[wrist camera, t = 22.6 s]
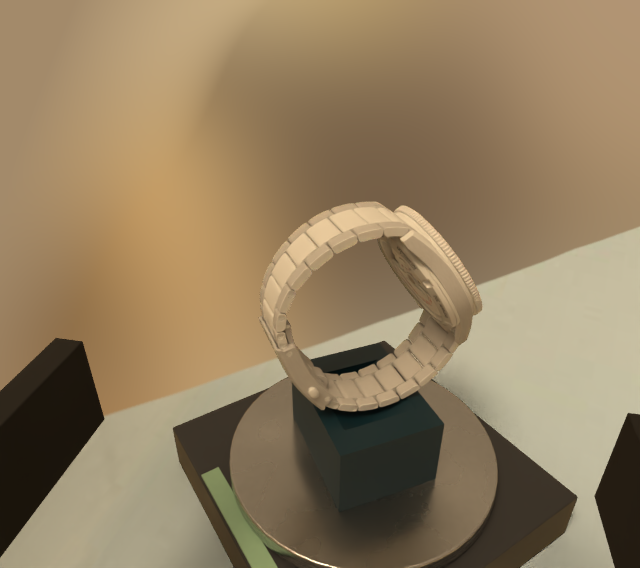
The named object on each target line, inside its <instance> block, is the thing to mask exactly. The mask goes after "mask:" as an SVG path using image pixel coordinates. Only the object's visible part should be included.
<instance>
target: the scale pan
mask: <svg viewBox="0 0 640 568" xmlns="http://www.w3.org/2000/svg"><path fill="white" fill-rule="evenodd" d="M415 382H416V383H417V381H415ZM417 384H418V383H417ZM418 385H419V384H418ZM419 387H420V389H419V390H418V392H419V393H420V394H421V395H422V397H423V398H424V399H425V400H426V402H427V403H428V404H429V405H430V407H431V408H432V409H433V410H434V412H435V413H436V414H437V415H438V417H439V418H440V419H441V420H442V422H443V423H444V430H443V436H442V442H441V449H440V455H439V461H438V467H437V473H436V479H434V480H431V481H428V482H426V483H423V484H420V485H417V486H414V487H411V488H408V489H405V490H402V491H400V492H397V493H394V494H391V495H388V496H385V497H382V498H379V499H376V500H374V501H371V502H368V503H365V504H362V505H359V506H356V507H353V508H350V509H348V510H345V511H342V512H339V511H338V509H337V507H336V505H335V503H334V501H333V499H332V497H331V495H330V493H329V491H328V488H327V486H326V484H325V482H324V480H323V478H322V476H321V474H320V472H319V470H318V468H317V465H316V463H315V461H314V459H313V457H312V455H311V453H310V451H309V449H308V447H307V444H306V442H305V440H304V438H303V436H302V434H301V432H300V430H299V428H298V426H297V424H296V421H295V419H294V417H293V401H292V381H291V380H290V378H289V377H287V378H285V379H283V380H281V381H280V382H278V383H276V384H275V385H273V386H271V387H270V388H269V389H268V390H266V391H265V392H264V393H262V394H261V395H260V396H259V397H258V398H257V399H256V400H255V401H254V402H253V403H252V404H251V406H250V407H249V408H248V409H247V411H246V412H245V413H244V415H243V417H242V418H241V420H240V422H239V424H238V426H237V428H236V431H235V433H234V436H233V439H232V444H231V448H230V460H229V467H230V475H231V483H232V490H233V493H234V496H235V500H236V503H237V505H238V507H239V509H240V511H241V514H242V516H243V518H244V519H245V521H246V522H247V524H248V525H249V526H250V528H251V529H252V531H253V532H254V533H255V534H256V535H257V536H258V537H259V538H260V540H261V541H262V542H263V543H264V544H265V545H266V546H267V547H269V548H270V549H271V550H272V551H274V552H275V553H276V554H277V555H279V556H280V557H281V558H283V559H285V560H286V561H288V562H290V563H291V564H293V565H295V566H296V567H298V568H442V567H444V566H445V565H447V564H449V563H450V562H452V561H454V560H455V559H456V558H457V557H459V556H460V555H461V554H462V553H463V552H465V551H466V550H467V549H468V548H469V547H470V546H471V545H472V543H473V542H474V541H475V540H476V539H477V538H478V536H479V535H480V533H481V532H482V530H483V528H484V527H485V525H486V523H487V522H488V519H489V516H490V514H491V511H492V508H493V505H494V501H495V496H496V491H497V485H498V467H497V461H496V455H495V452H494V449H493V446H492V443H491V440H490V438H489V436H488V434H487V432H486V430H485V428H484V427H483V425H482V424H481V422H480V421H479V420H478V418H477V417H476V416H475V414H474V413H473V412H472V411H471V410H470V409H469V408H468V407H467V405H465V404H464V403H463V402H462V401H461V400H460V399H459V398H458V397H456V396H455V395H454V394H452V393H451V392H450V391H448V390H447V389H445V388H444V387H442V386H440V385H439V384H437V383H435V382H434V381H432V380H430V381H429V382H428V383H426V384H425V385H424V386H422V387H421V386H420V385H419Z"/></svg>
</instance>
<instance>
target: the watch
mask: <svg viewBox="0 0 640 568" xmlns="http://www.w3.org/2000/svg"><path fill="white" fill-rule="evenodd" d="M308 223H309V225H308ZM308 223H305V224H303V225H302V226H301V227H299V228H298V229H297V230H296V231H295V232H294V233H292V234H291V236H289V238H288V240H289V241H285V242H284V243H283V245H282V246H281V247H280V248H279V250H278V251H277V253H276V254H275V256H274V257H273V259H272V261H273V262H271V263H270V264H269V266H268V268H267V271H266V273H265V276H264V279H263V285H262V287H261V293H260V302H261V305H260V309H261V313H262V316H260V317H259V320H260V323H261V325H262V327H263V329H264V331H265V333H266V335H267V337H268V339H269V341H270V343H271V345H272V347H273V349H274V351H275V353H276V355H277V357H278V359H279V361H280V363H281V365H282V367H283V368H284V370H285V372H286V374H287V375H288V377H289V378H290V380H291V381H292V401H293V417H294V419H295V421H296V424H297V426H298V428H299V430H300V432H301V434H302V436H303V438H304V440H305V442H306V444H307V447H308V449H309V451H310V453H311V455H312V457H313V459H314V461H315V463H316V465H317V468H318V470H319V472H320V474H321V476H322V478H323V480H324V482H325V484H326V486H327V488H328V491H329V493H330V495H331V497H332V499H333V501H334V503H335V505H336V507H337V509H338V511H339V512H342V511H345V510H348V509H350V508H353V507H356V506H359V505H362V504H365V503H368V502H371V501H374V500H376V499H379V498H382V497H385V496H388V495H391V494H394V493H397V492H400V491H402V490H405V489H408V488H411V487H414V486H417V485H420V484H423V483H426V482H428V481H431V480H434V479H436V473H437V467H438V461H439V455H440V449H441V442H442V436H443V430H444V423H443V422H442V420H441V419H440V418H439V417H438V415H437V414H436V413H435V412H434V410H433V409H432V408H431V407H430V405H429V404H428V403H427V402H426V400H425V399H424V398H423V397H422V395H421V394H420V393H419V392H418V390H419V389H420V387H419V385H420V386H421V387H422V386H424V385H425V384H426V383H428V382H429V381H430V380H431V379H432V378H433V377H435V376H436V375H437V373H438V372H437V371H436V370H438V371H440V370H441V369H442V368H443V367H444V366H445V364H446V363H447V362H448V361H449V360H450V358H451V357H452V355H453V354H452V353H454V352H455V350H456V349H457V347H458V346H459V345H461V344H462V343H463V342H465V341H466V340H467V338H468V335H469V332H470V329H471V325H472V317H473V315H476V314H478V313H479V312H480V311H481V310H482V301H481V298H480V295H479V292H478V290H477V287H476V285H475V283H474V282H473V280H472V278H471V276H470V274H469V273H468V271H467V270H466V268H465V266H464V265H463V263H462V262H461V260H460V259H459V257H458V256H457V255H456V253H455V252H454V251H453V249H452V248H451V247H450V246H449V244H448V243H447V242H446V241H445V239H444V238H443V237H442V236H441V235H440V234H439V233H438V231H437V230H435V228H434V227H433V226H432V225H431V224H430V223H429V222H427V221H426V220H425V219H424V218H423V217H422V216H421V215H420V214H419V213H417V212H415V211H414V210H412V209H411V208H409V207H407V206H400V207H399V208H397V209H396V210H395V212H394V213H393V212H392V211H390V210H389V209H387V208H386V207H384V206H383V205H381V204H380V203H377V202H358V203H356V204H355V205H354V204H353V203H350V204H345V205H341V206H338V207H335V208H332V209H331V211H330V210H327V211H324V212H322V213H320V214H318V215H317V216H315V217H313V218H312V219H310V220H309V221H308ZM310 226H311V227H310ZM309 238H311V239H312V241H313V242H314V243H315V244H316V245H317V246H318V248H317V247H316V246H315V245H314V243H313V242H312V241H311V240H310V239H309ZM376 238H377V241H378V244H379V247H380V249H381V251H382V253H383V255H384V257H385V259H386V260H387V262H388V263H389V265H390V267H391V268H392V270H393V271H394V273H395V274H396V276H397V277H398V278H399V280H400V281H401V283H402V284H403V285H404V286H405V288H406V289H407V290H408V292H409V293H410V294H411V295H412V297H413V298H414V299H415V301H416V302H417V304H418V305H419V307H420V308H421V309H422V308H423V309H424V310H423V313H422V315H421V317H420V322H419V323H417V324H416V326H415V327H414V329H413V330H412V332H411V333H410V334H409V336H408V338H409V339H410V340H411V341H410V340H408V339H406V340H404V341H403V342H402V343H401V344H400V345H399V346H398V347H397V348H396V349H395V350H394V354H395V356H396V357H397V358H396V357H395V356H394V355H393V354H392V353H391V354H388V353H387V352H386V350H385V349H384V348H383V347H382V345H381V344H380V343H376V344H372V345H368V346H364V347H360V348H356V349H351V350H347V351H343V352H339V353H335V354H331V355H327V356H323V357H319V358H315V359H311V360H310V359H309V358H308V357H307V356H305V355H304V354H303V353H302V352H301V351H300V350H299V349H298V347H297V346H296V345H295V343H294V340H293V336H292V332H291V325H290V323H289V322H288V320H287V316H286V314H285V313H286V312H288V310H289V308H290V306H291V303H292V301H293V299H294V297H295V295H296V293H295V291H294V290H299V289H300V288H301V286H302V285H303V284H304V283H305V281H306V280H307V279H308V278H309V277H310V276H311V274H312V271H311V269H312V270H317V269H318V268H319V267H321V266H322V265H323V264H324V263H325V262H327V261H328V260H329V259H331V258H332V256H333V252H335V253H340V252H341V251H343V250H345V249H347V248H349V247H351V246H353V245H355V244H356V243H357V241H358V240H359V241H360V242H363V241H367V240H371V239H376ZM331 249H332V250H333V252H332V250H331ZM290 257H291V258H290ZM292 260H293V261H294V262H293V261H292ZM295 264H296V265H295ZM425 336H426V337H427V338H428V339H429V340H430V341H429V340H428V339H427V338H426V337H425ZM412 343H413V344H412ZM411 353H412V354H413V355H414V356H415V357H416V359H417V360H418V361H419V362H420V363H421V364H422V366H423V367H424V368H423V367H422V366H421V365H420V363H419V362H418V361H417V360H416V359H415V358H414V356H413V355H412V354H411ZM432 365H433V366H434V367H435V368H436V369H435V368H434V367H433V366H432ZM415 381H417V383H418V384H419V385H418V384H417V383H416V382H415Z"/></svg>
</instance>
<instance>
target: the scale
mask: <svg viewBox="0 0 640 568" xmlns="http://www.w3.org/2000/svg"><path fill="white" fill-rule="evenodd" d="M379 343H380V344H381V345H382V347H383V348H384V349H385V350H386V352H387V353H388V354H391V353H392V354H393V355H394V356H395V354H394V350H395V349H394V348H393V347H392V346H390V345H389V344H388V343H387V342H385V341H382V342H379ZM395 357H396V356H395ZM396 358H397V357H396ZM431 380H432V379H431ZM432 381H434V380H432ZM434 382H435V381H434ZM435 383H436V382H435ZM268 389H269V388H268ZM268 389H266V390H268ZM266 390H263V391H261V392H258V393H256V394H253V395H251V396H249V397H246V398H244V399H241V400H239V401H236V402H234V403H232V404H229V405H227V406H224V407H222V408H219V409H217V410H215V411H212V412H210V413H207V414H205V415H203V416H200V417H198V418H195V419H193V420H190V421H188V422H186V423H183V424H181V425H178V426H176V427H174V428H173V432H174V437H175V442H176V447H177V452H178V457H179V462H180V464H181V466H182V468H183V470H184V472H185V473H186V475H187V477H188V479H189V481H190V483H191V485H192V487H193V489H194V491H195V493H196V495H197V497H198V499H199V500H200V502H201V504H202V506H203V508H204V510H205V512H206V514H207V516H208V518H209V520H210V522H211V524H212V526H213V528H214V529H215V531H216V533H217V535H218V537H219V539H220V541H221V543H222V545H223V547H224V549H225V551H226V553H227V555H228V557H229V558H230V560H231V562H232V564H233V566H234V568H298V567H296V566H295V565H293V564H291V563H290V562H288V561H286V560H285V559H283V558H281V557H280V556H279V555H277V554H276V553H275V552H274V551H272V550H271V549H270V548H269V547H267V546H266V545H265V544H264V543H263V542H262V541H261V540H260V538H259V537H258V536H257V535H256V534H255V533H254V532H253V531H252V529H251V528H250V526H249V525H248V524H247V522H246V521H245V519H244V518H243V516H242V514H241V511H240V509H239V507H238V505H237V503H236V500H235V496H234V493H233V490H232V483H231V475H230V467H229V460H230V448H231V444H232V439H233V436H234V433H235V431H236V428H237V426H238V424H239V422H240V420H241V418H242V417H243V415H244V413H245V412H246V411H247V409H248V408H249V407H250V406H251V404H252V403H253V402H254V401H255V400H256V399H257V398H258V397H259V396H260V395H261V394H262V393H264V392H265V391H266ZM474 414H475V413H474ZM475 416H476V417H477V418H478V420H479V421H480V422H481V424H482V425H483V427H484V428H485V430H486V432H487V434H488V436H489V438H490V440H491V443H492V446H493V449H494V452H495V455H496V461H497V467H498V485H497V491H496V496H495V501H494V505H493V508H492V511H491V514H490V516H489V519H488V522H487V523H486V525H485V527H484V528H483V530H482V532H481V533H480V535H479V536H478V538H477V539H476V540H475V541H474V542H473V543H472V545H471V546H470V547H469V548H468V549H467V550H466V551H465V552H463V553H462V554H461V555H460V556H459V557H457V558H456V559H455V560H454V561H452V562H450V563H449V564H447V565H445V566H444V567H442V568H519V567H521V566H522V565H523V564H524V563H526V562H527V561H528V560H530V559H531V558H532V557H533V556H535V555H536V554H537V553H539V552H540V551H541V550H542V549H544V548H545V547H546V546H548V545H549V544H550V543H551V542H553V541H554V540H555V539H557V538H558V537H559V536H560V535H562V534H563V533H564V532H565V530H566V527H567V525H568V522H569V519H570V517H571V514H572V511H573V508H574V506H575V503H576V500H577V496H576V495H575V494H574V493H572V492H571V491H570V490H569V489H567V488H566V487H565V486H564V485H562V484H561V483H560V482H559V481H557V480H556V479H555V478H554V477H552V476H551V475H550V474H549V473H548V472H546V471H545V470H544V469H543V468H541V467H540V466H539V465H538V464H536V463H535V462H534V461H533V460H531V459H530V458H529V457H528V456H526V455H525V454H524V453H523V452H522V451H520V450H519V449H518V448H517V447H515V446H514V445H513V444H512V443H510V442H509V441H508V440H507V439H505V438H504V437H503V436H502V435H500V434H499V433H498V432H497V431H496V430H494V429H493V428H492V427H491V426H489V425H488V424H487V423H486V422H484V421H483V420H482V419H481V418H479V417H478V416H477V415H476V414H475Z"/></svg>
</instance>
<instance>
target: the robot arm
mask: <svg viewBox="0 0 640 568" xmlns="http://www.w3.org/2000/svg"><path fill="white" fill-rule="evenodd" d="M103 420H104V416H103V412H102V409H101V405H100V402H99V398H98V395H97V391H96V388H95V384H94V381H93V377H92V374H91V370H90V367H89V363H88V359H87V356H86V352H85V349H84V346H83V342H82V341H74V340H67V339H59V338H56V339H55V340H54V341H52V343H50V344H49V345H48V346H47V347H46V348H45V349H44V350H43V351H42V352H41V353H40V354H39V355H38V356H37V357H36V358H35V359H34V360H33V361H31V362H30V363H29V364H28V365H27V366H26V367H25V368H24V369H23V370H22V371H21V372H20V373H19V374H18V375H17V376H16V377H15V378H14V379H13V380H12V381H10V383H9V384H7V385H6V386H5V387H4V388H3V389H2V390H1V391H0V557H1V556H2V555H3V553H4V552H5V551H6V549H7V548H8V547H9V545H10V544H11V543H12V541H13V540H14V539H15V537H16V536H17V535H18V533H19V532H20V531H21V529H22V528H23V527H24V525H25V524H26V523H27V521H28V520H29V519H30V517H31V516H32V515H33V513H34V512H35V511H36V509H37V508H38V507H39V505H40V504H41V503H42V501H43V500H44V499H45V497H46V496H47V495H48V493H49V492H50V491H51V489H52V488H53V487H54V485H55V484H56V483H57V481H58V480H59V479H60V477H61V476H62V475H63V474H64V472H65V471H66V470H67V468H68V467H69V466H70V464H71V463H72V462H73V460H74V459H75V458H76V456H77V455H78V454H79V452H80V451H81V450H82V448H83V447H84V446H85V444H86V443H87V442H88V440H89V439H90V438H91V436H92V435H93V434H94V432H95V431H96V430H97V428H98V427H99V426H100V424H101V423H102V422H103ZM595 499H596V503H597V506H598V510H599V513H600V517H601V520H602V524H603V527H604V531H605V534H606V538H607V542H608V545H609V549H610V552H611V556H612V559H613V563H614V566H615V568H640V415H639V414H631V413H628V414H627V417H626V419H625V422H624V424H623V427H622V429H621V432H620V434H619V437H618V439H617V441H616V444H615V446H614V449H613V451H612V454H611V456H610V459H609V461H608V464H607V466H606V469H605V471H604V474H603V476H602V479H601V481H600V484H599V486H598V489H597V491H596V494H595Z"/></svg>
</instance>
